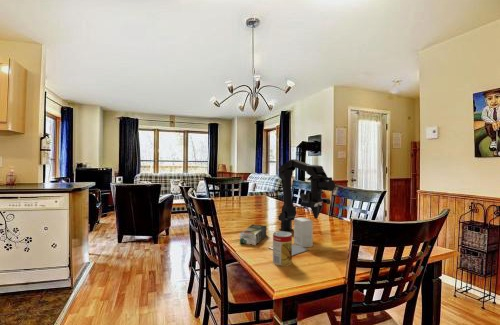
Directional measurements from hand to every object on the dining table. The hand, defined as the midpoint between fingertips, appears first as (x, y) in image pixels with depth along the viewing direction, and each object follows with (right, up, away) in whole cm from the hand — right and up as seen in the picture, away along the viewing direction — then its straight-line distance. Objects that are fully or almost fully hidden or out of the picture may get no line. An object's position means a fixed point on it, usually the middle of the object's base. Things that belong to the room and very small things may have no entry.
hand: (315, 218), depth 140 cm
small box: (-8, -12, -7) cm, 16 cm away
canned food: (-21, -12, -30) cm, 39 cm away
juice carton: (-33, -12, +3) cm, 36 cm away
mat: (-16, -12, -14) cm, 25 cm away
